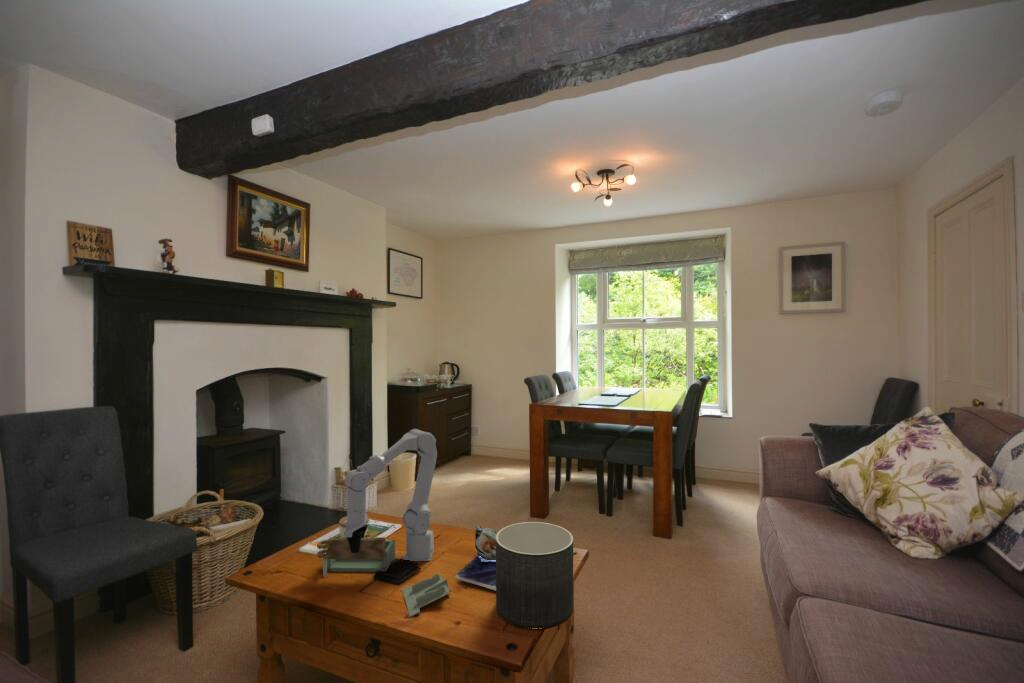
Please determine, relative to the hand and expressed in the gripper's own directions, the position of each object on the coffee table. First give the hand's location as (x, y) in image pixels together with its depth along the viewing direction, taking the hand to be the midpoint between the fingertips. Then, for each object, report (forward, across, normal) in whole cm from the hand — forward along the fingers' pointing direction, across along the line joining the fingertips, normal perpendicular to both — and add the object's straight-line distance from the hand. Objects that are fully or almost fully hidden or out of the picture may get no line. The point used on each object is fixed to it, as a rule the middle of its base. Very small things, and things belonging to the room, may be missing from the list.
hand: (356, 550), depth 150 cm
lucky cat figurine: (+9, -12, +44) cm, 46 cm away
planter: (+9, +16, +57) cm, 60 cm away
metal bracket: (+9, +12, +25) cm, 30 cm away
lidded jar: (+9, -28, -11) cm, 31 cm away
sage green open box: (+8, -6, -1) cm, 10 cm away
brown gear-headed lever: (+2, 0, -2) cm, 3 cm away
